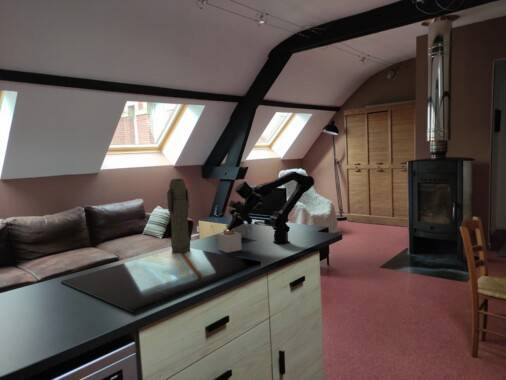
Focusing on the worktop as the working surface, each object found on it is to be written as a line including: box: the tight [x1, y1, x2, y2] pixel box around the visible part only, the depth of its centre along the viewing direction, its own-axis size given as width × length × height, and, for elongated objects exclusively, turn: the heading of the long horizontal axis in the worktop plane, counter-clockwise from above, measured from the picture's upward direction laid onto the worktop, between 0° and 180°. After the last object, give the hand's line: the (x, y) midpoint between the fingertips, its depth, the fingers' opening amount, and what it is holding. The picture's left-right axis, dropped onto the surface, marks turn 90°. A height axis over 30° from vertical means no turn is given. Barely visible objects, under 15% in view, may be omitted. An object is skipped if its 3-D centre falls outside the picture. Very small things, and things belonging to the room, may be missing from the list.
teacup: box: [225, 223, 253, 240], centre depth 210 cm, size 14×11×8 cm
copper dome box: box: [217, 232, 242, 254], centre depth 187 cm, size 8×10×8 cm
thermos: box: [166, 178, 191, 254], centre depth 185 cm, size 9×12×35 cm
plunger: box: [222, 228, 235, 235], centre depth 186 cm, size 6×6×7 cm
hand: (228, 229), depth 185 cm, fingers closed, pressing on plunger
